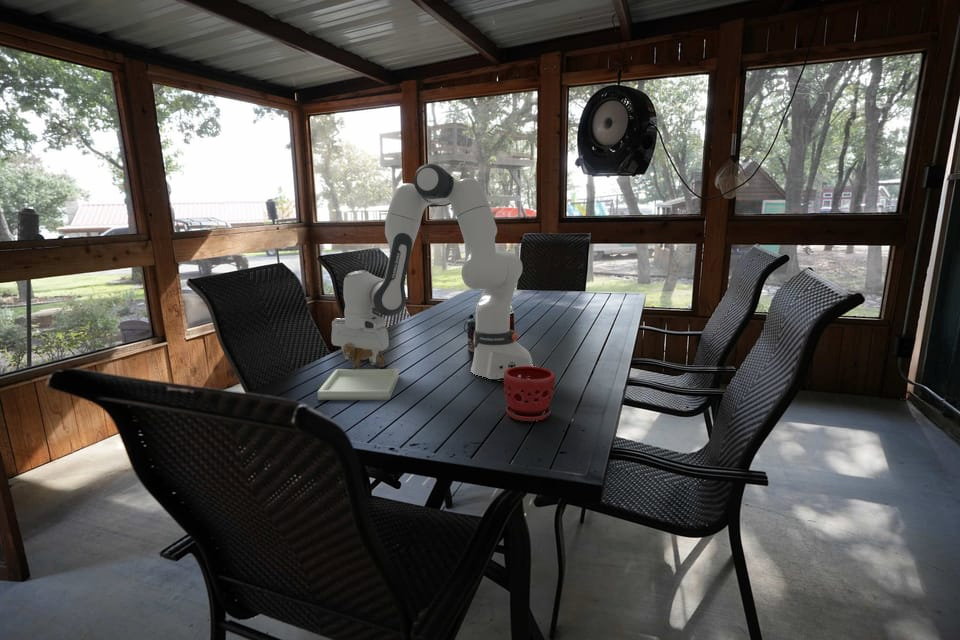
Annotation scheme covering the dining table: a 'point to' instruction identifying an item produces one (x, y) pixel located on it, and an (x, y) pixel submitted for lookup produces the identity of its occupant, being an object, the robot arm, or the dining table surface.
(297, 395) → the dining table surface
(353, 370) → the tray
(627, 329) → the dining table surface
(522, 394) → the plant pot
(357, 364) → the lion figurine
